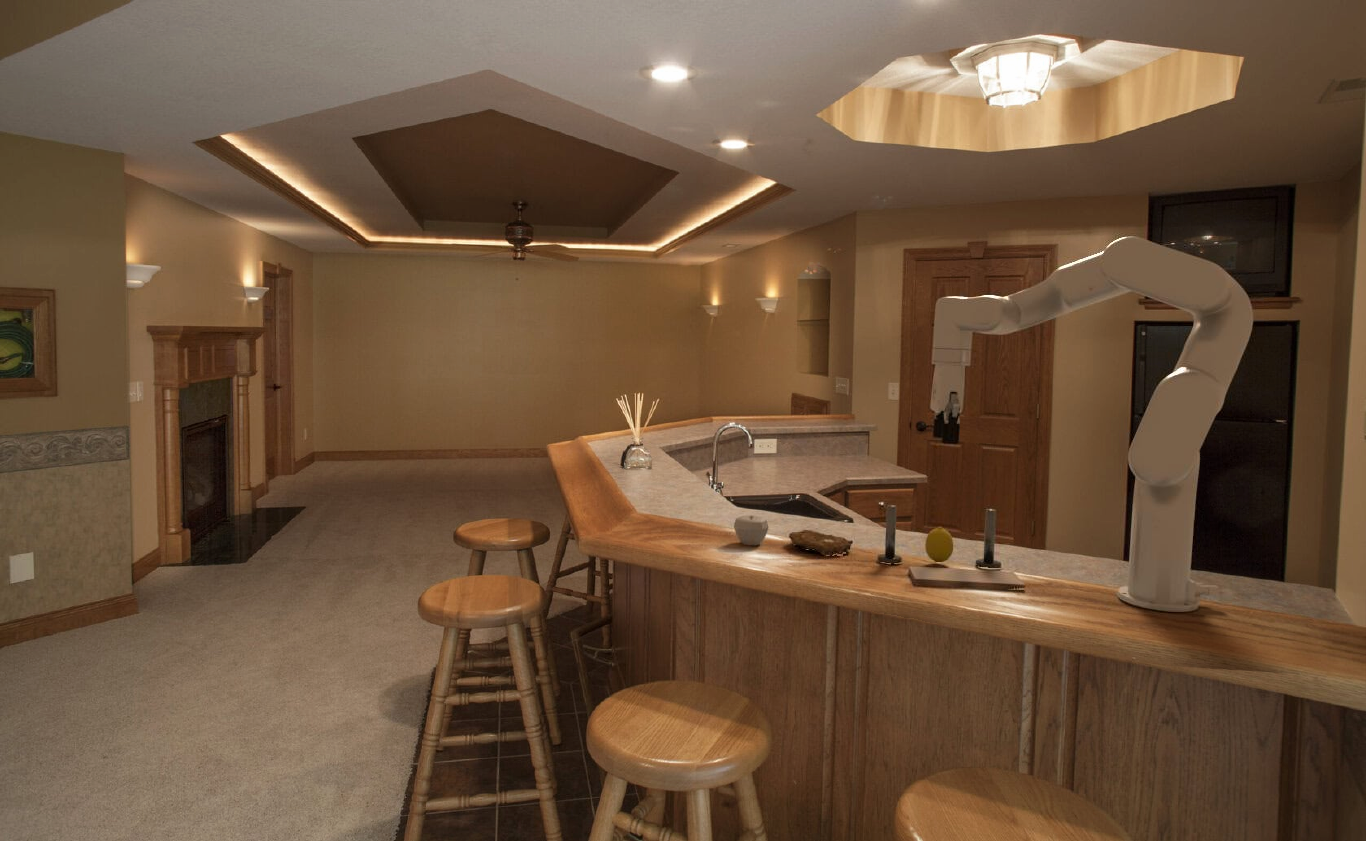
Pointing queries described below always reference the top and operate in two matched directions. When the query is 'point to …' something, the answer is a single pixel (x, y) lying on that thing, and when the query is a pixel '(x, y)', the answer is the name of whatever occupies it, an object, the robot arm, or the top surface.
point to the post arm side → (989, 542)
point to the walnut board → (965, 578)
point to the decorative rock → (820, 542)
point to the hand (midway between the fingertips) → (945, 440)
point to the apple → (751, 529)
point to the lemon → (939, 545)
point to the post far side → (890, 537)
